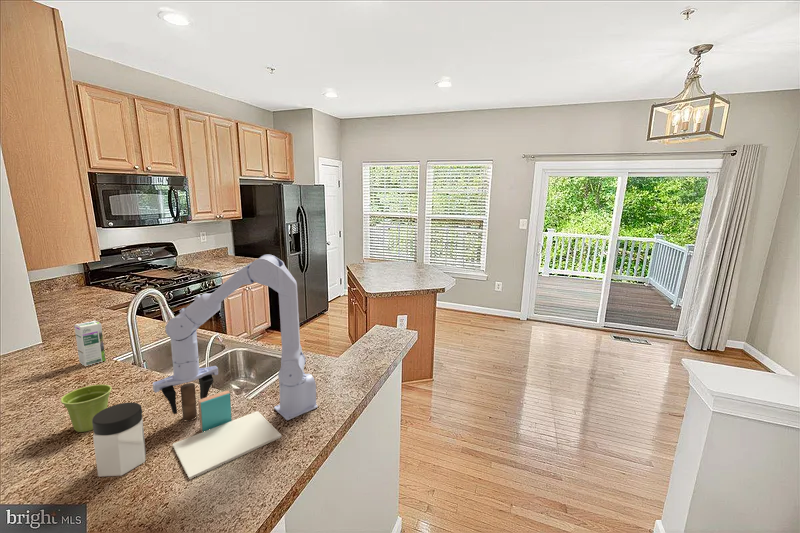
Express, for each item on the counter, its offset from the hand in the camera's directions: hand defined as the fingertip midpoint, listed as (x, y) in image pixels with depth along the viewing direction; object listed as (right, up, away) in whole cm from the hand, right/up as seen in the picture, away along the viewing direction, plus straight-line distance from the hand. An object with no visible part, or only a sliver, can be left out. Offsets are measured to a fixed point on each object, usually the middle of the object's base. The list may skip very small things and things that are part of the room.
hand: (189, 407), depth 91 cm
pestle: (0, -3, 0) cm, 3 cm away
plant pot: (-23, -3, -4) cm, 23 cm away
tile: (+8, -4, -2) cm, 9 cm away
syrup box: (-53, +3, +30) cm, 61 cm away
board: (+15, -5, -9) cm, 18 cm away
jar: (-4, -6, -16) cm, 18 cm away
